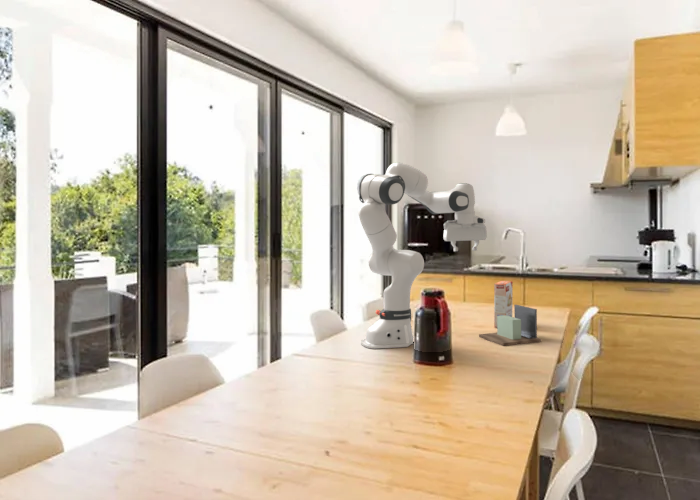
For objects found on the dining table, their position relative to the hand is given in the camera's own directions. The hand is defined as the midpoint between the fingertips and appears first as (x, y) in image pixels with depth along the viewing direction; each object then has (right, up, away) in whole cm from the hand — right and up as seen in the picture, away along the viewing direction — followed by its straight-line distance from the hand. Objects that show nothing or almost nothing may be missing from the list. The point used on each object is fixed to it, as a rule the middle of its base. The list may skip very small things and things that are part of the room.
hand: (465, 250), depth 234 cm
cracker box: (+22, -36, +15) cm, 45 cm away
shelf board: (+15, -37, -14) cm, 43 cm away
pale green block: (+15, -36, -14) cm, 42 cm away
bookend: (+22, -36, -12) cm, 44 cm away
